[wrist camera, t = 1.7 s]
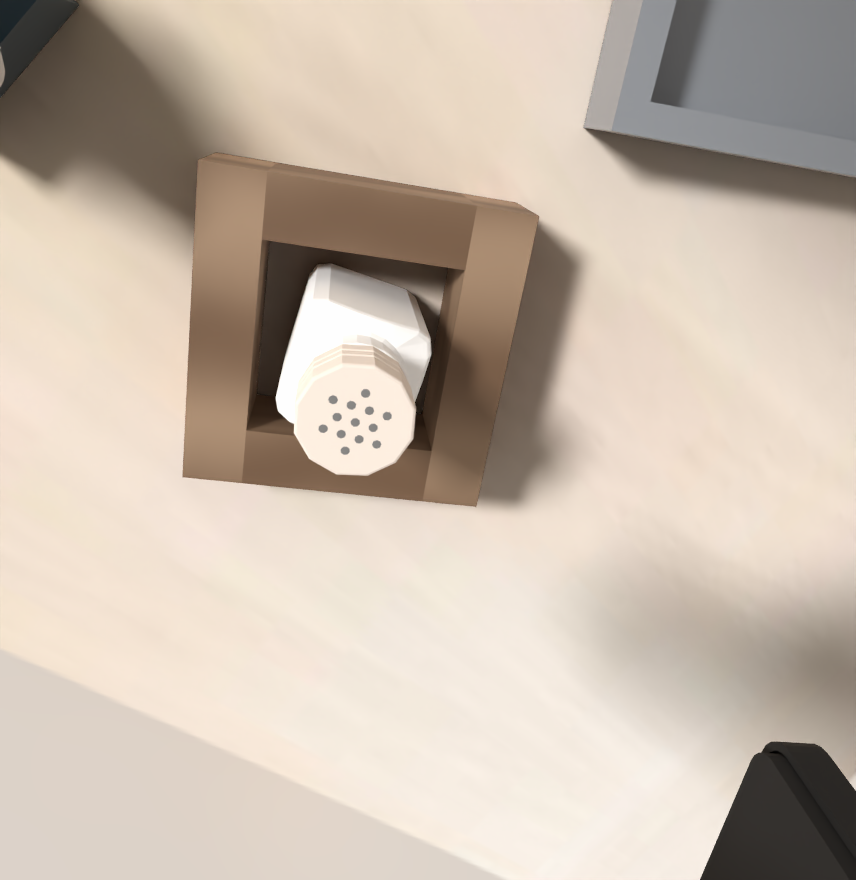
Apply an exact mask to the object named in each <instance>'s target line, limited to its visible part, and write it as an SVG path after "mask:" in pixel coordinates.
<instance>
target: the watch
mask: <svg viewBox="0 0 856 880" xmlns="http://www.w3.org/2000/svg"><path fill="white" fill-rule="evenodd" d="M78 6H79V4H78V3H77V2H76V1H75V0H0V98H1V96H2V95H3V94H4V93H5V92H6V91H7V89H8V88H9V87H10V86H11V85H12V84H13V82H14V81H15V80H16V79H17V78H18V77H19V75H20V74H21V73H22V72H23V71H24V70H25V68H26V67H27V66H28V65H29V64H30V62H31V61H32V60H33V59H34V58H35V57H36V55H37V54H38V53H39V52H40V51H41V50H42V48H43V47H44V46H45V45H46V44H47V43H48V41H49V40H50V39H51V38H52V37H53V36H54V34H55V33H56V32H57V31H58V30H59V28H60V27H61V26H62V25H63V24H64V23H65V21H66V20H67V19H68V18H69V17H70V16H71V14H72V13H73V12H74V11H75V10H76V9H77V7H78Z"/></svg>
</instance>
